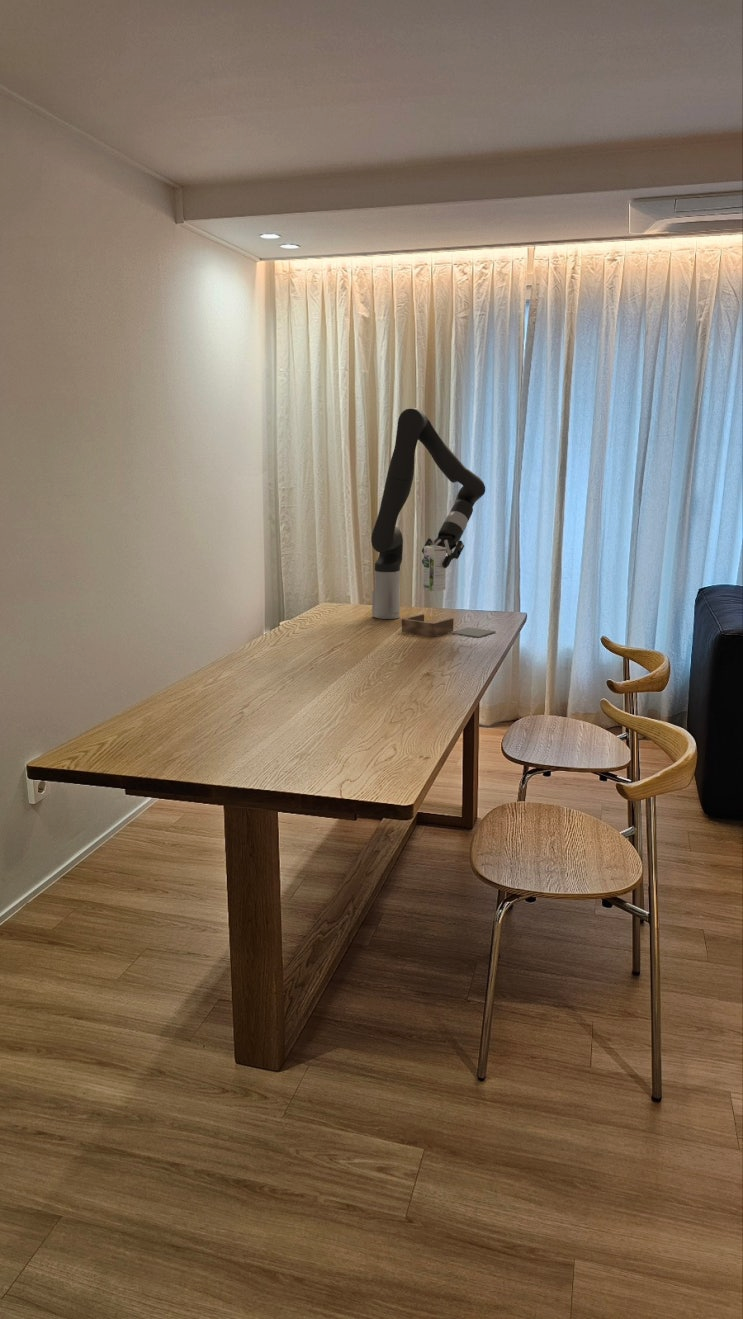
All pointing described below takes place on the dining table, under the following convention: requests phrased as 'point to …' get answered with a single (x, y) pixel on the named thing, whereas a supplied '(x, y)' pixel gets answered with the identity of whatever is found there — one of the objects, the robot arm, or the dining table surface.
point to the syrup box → (434, 568)
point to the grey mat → (473, 632)
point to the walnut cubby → (426, 626)
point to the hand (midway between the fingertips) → (434, 565)
